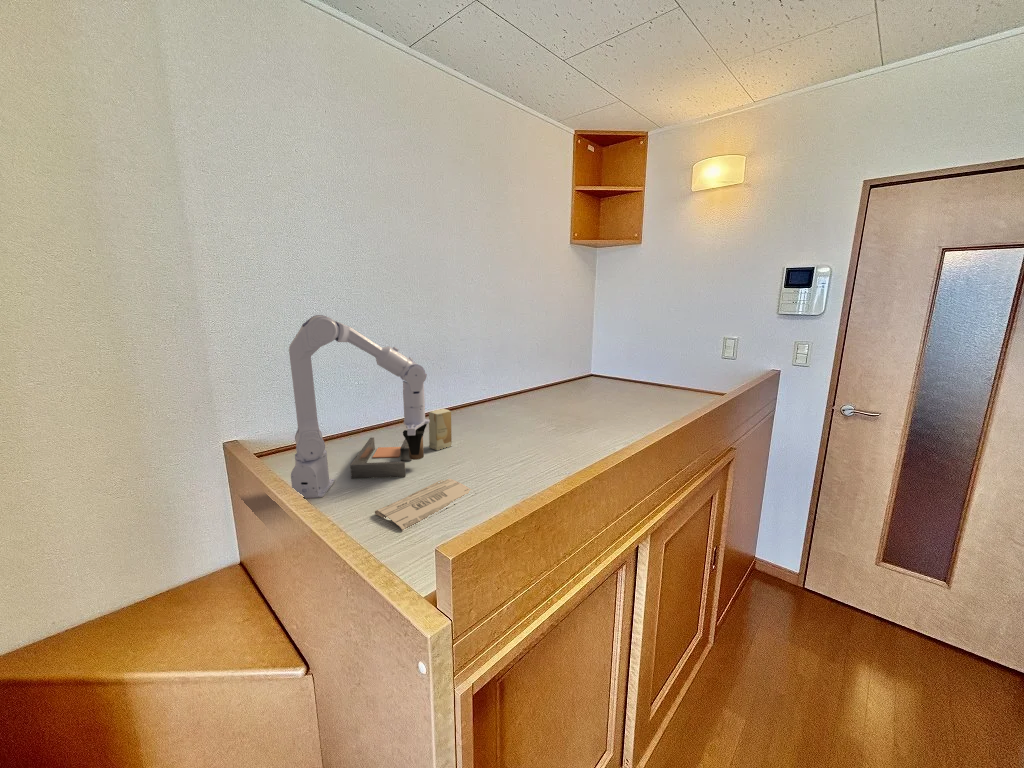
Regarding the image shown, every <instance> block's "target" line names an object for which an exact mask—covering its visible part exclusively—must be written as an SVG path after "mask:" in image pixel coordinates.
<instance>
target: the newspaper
mask: <svg viewBox="0 0 1024 768" xmlns="http://www.w3.org/2000/svg"><path fill="white" fill-rule="evenodd" d="M441 481H442V482H441ZM438 482H440V483H438ZM470 490H472V488H469V487H468V486H466V485H464V484H463V483H461V482H459V481H457V480H454V479H452V478H447V479H445V480H443V479H441V480H438V481H436V482H434V483H433V484H430V485H428V486H426V487H424V488H421V489H419V490H418V491H416V492H413V493H410V494H409V495H406V497H404V498H401V499H399V500H396V501H394V502H392V503H389V504H388V505H385V506H383V507H381V508H378V509H376V510H374V514H375V515H376V516H378V517H380V518H382V517H383V518H384V517H385V518H386V517H388V518H389V519H391V520H392V521H391V522H393V523H394V524H396V525H397V526H398V527H399V528H400V529H401V532H402V531H403V530H404V529H406V528H408V527H410V526H412V525H414V524H416V523H418V522H420V521H421V520H423V519H425V518H427V517H428V516H429V515H432V514H434V513H435V512H438V511H439V510H441V509H443V508H444V507H446V506H448V505H449V504H450V503H451V502H453V501H455V500H456V499H458V498H461V497H462V496H464V495H465V494H468V493H469V491H470ZM383 518H382V519H383ZM403 532H404V531H403Z"/></svg>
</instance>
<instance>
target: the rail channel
mask: <svg viewBox="0 0 1024 768" xmlns="http://www.w3.org/2000/svg"><path fill="white" fill-rule="evenodd" d="M375 444H376V443H375V437H369V438H368V440H367V441H366V443H365V444H364V446H363V447H362V448H361V449H360V451H359V452H358V453H357V455H356V457H355V458H354V459H353V461H352V462H351V463H350V478H351V480H357V479H358V480H359V479H361V480H363V479H364V480H365V479H387V478H388V479H391V478H406V475H407V473H406V462H411V461H412V459H410V458H409V445H408V443H407V440H406V439H405V438H404V440H403V442H402V445H401V446H400V447H401V448H400V453H401V455H400V461H385V462H384V461H383V462H368V461H369V460H370V458H371V456H372V455H373V453H374V452H375V451H376V446H375Z"/></svg>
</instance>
